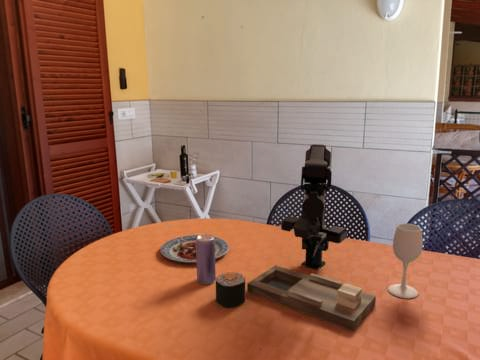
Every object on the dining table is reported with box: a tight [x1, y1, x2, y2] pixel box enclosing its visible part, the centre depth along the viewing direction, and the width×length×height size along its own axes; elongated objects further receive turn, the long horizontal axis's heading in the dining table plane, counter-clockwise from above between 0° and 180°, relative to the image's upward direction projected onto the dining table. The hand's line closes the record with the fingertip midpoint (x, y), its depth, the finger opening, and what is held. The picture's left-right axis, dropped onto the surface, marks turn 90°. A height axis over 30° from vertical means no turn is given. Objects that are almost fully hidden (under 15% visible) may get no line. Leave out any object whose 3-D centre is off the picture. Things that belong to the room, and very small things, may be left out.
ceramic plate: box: [160, 234, 230, 263], centre depth 157 cm, size 26×26×3 cm
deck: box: [246, 264, 377, 332], centre depth 123 cm, size 16×34×4 cm, turn 53°
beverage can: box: [196, 233, 217, 285], centre depth 133 cm, size 6×6×15 cm
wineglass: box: [387, 223, 424, 300], centre depth 125 cm, size 9×9×21 cm
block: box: [337, 283, 363, 309], centre depth 115 cm, size 5×5×4 cm
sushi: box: [215, 271, 246, 309], centre depth 121 cm, size 8×8×8 cm
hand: (312, 256), depth 123 cm, fingers closed
